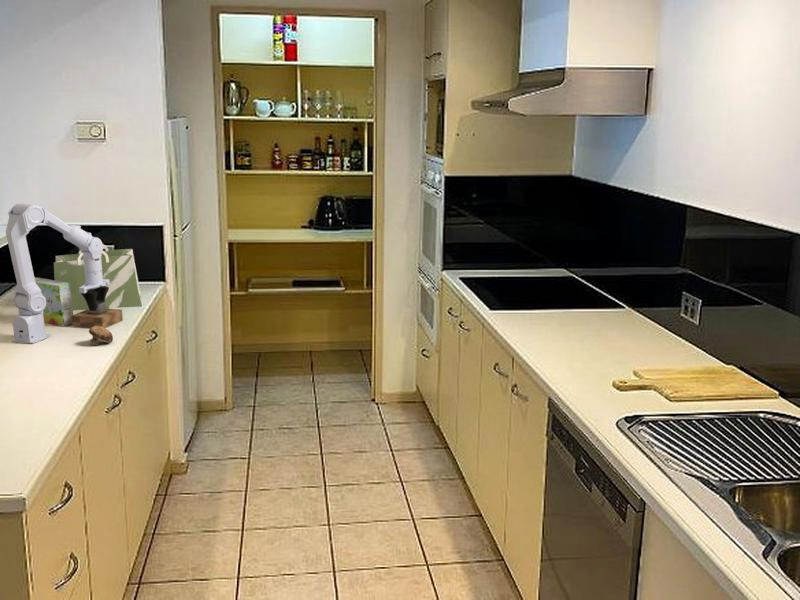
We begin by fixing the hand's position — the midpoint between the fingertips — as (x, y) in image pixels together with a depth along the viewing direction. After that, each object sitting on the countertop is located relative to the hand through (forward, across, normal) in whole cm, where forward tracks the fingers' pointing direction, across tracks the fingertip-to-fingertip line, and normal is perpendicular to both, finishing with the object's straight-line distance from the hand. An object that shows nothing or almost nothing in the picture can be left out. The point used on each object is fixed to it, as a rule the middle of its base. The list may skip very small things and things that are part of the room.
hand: (96, 309), depth 289 cm
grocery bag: (+6, +24, +16) cm, 29 cm away
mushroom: (+6, -21, -16) cm, 27 cm away
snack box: (+6, -2, +19) cm, 20 cm away
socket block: (+5, 0, 0) cm, 5 cm away
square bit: (+4, 0, 0) cm, 4 cm away
